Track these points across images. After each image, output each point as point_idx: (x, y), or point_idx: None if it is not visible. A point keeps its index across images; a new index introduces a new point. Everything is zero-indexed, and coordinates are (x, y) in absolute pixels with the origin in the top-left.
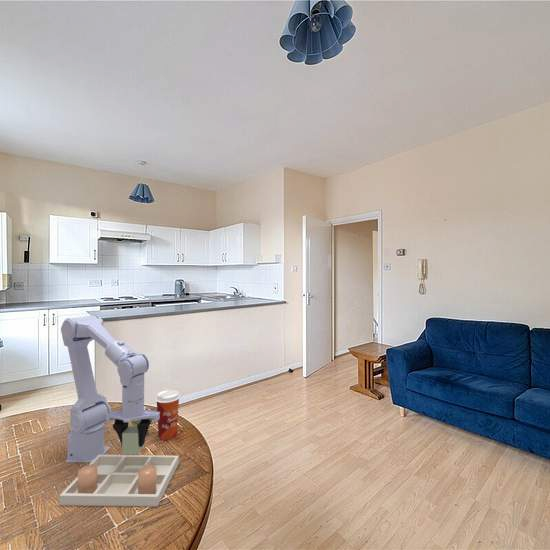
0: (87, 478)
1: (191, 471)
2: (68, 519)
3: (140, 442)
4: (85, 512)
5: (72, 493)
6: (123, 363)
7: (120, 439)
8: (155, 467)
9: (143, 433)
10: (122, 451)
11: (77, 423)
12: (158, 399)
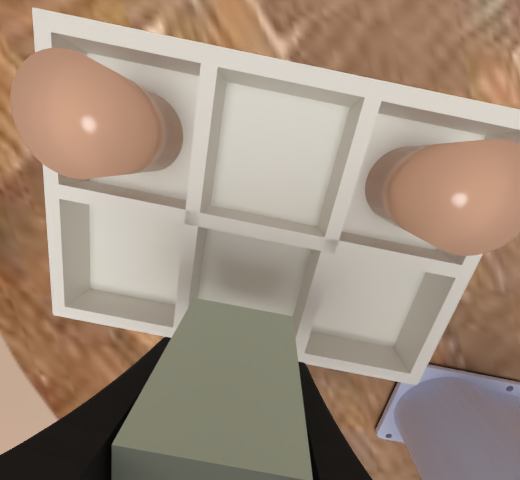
0: (455, 143)
1: (22, 248)
2: (443, 39)
3: (151, 358)
4: (381, 72)
5: (487, 121)
6: None
7: (322, 411)
8: (29, 142)
9: (46, 428)
10: (291, 327)
11: None
12: None
